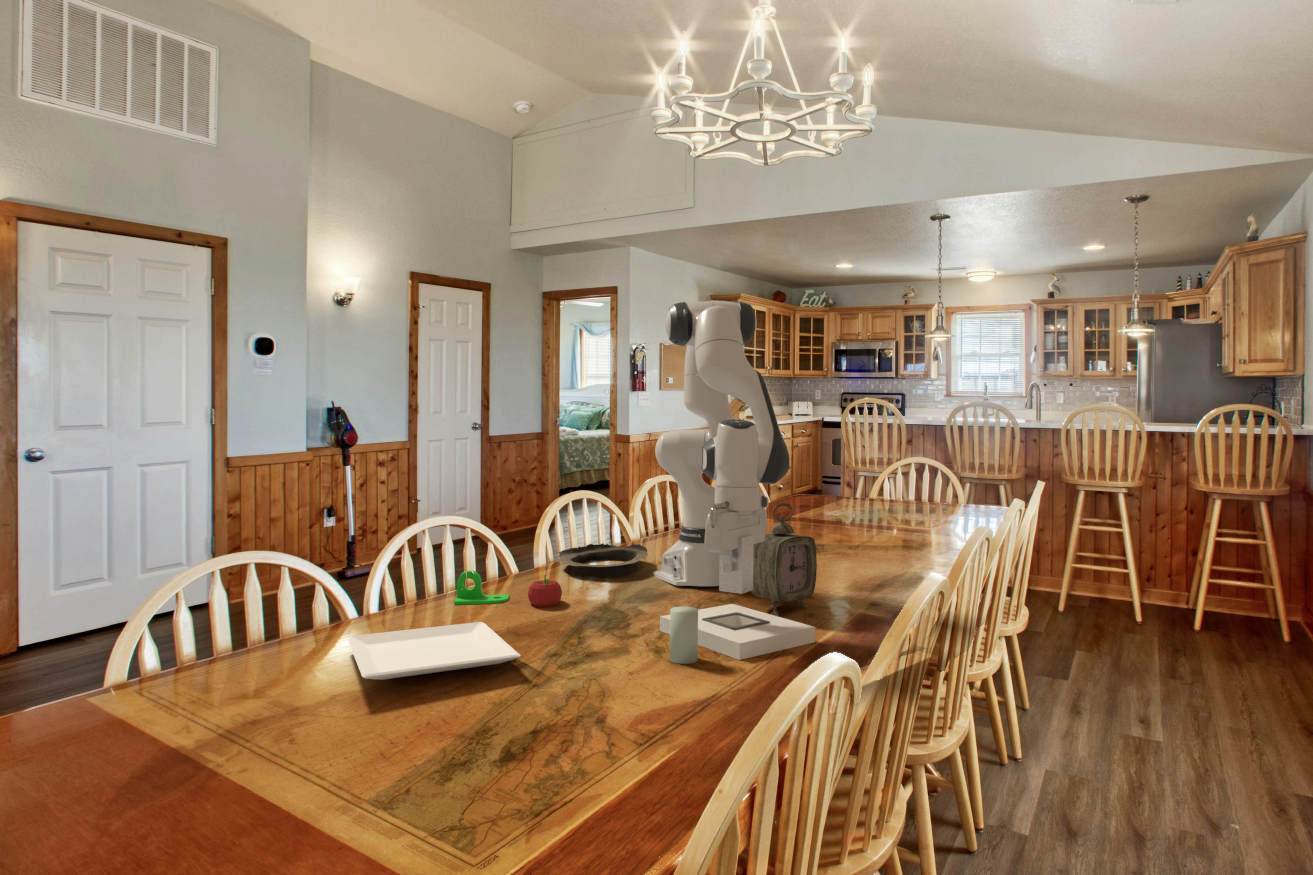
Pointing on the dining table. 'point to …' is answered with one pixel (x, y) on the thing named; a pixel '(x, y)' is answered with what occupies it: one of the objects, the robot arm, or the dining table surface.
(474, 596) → the mechanical part
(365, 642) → the plate
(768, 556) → the tabletop clock
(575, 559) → the stone bowl
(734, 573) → the square peg
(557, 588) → the tomato
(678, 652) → the round peg
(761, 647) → the socket board
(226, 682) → the dining table surface
